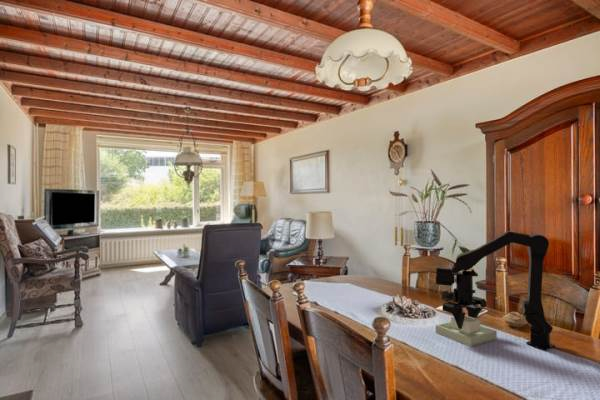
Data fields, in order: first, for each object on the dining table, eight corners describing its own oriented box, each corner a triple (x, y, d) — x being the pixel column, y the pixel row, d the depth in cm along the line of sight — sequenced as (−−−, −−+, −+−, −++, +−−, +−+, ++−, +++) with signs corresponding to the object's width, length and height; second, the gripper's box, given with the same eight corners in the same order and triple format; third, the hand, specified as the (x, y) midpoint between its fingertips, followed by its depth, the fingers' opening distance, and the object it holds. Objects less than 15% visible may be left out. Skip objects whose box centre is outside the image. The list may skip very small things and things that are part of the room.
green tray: (460, 325, 144) (460, 318, 144) (496, 338, 130) (496, 330, 130) (435, 332, 137) (435, 325, 137) (471, 347, 123) (471, 338, 123)
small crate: (461, 325, 138) (461, 313, 138) (480, 331, 131) (479, 319, 131) (451, 327, 135) (451, 316, 135) (469, 334, 128) (469, 322, 128)
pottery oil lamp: (526, 320, 148) (532, 308, 144) (522, 338, 139) (529, 325, 136) (503, 310, 152) (509, 298, 149) (498, 327, 143) (504, 314, 140)
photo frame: (450, 301, 175) (487, 310, 161) (450, 304, 175) (487, 312, 161) (435, 307, 166) (473, 317, 152) (435, 310, 166) (473, 319, 152)
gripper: (462, 279, 145) (463, 317, 145) (430, 285, 136) (431, 325, 136) (487, 285, 135) (488, 325, 135) (454, 291, 126) (455, 334, 126)
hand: (465, 327), depth 133 cm, fingers closed on small crate, 6 cm apart
